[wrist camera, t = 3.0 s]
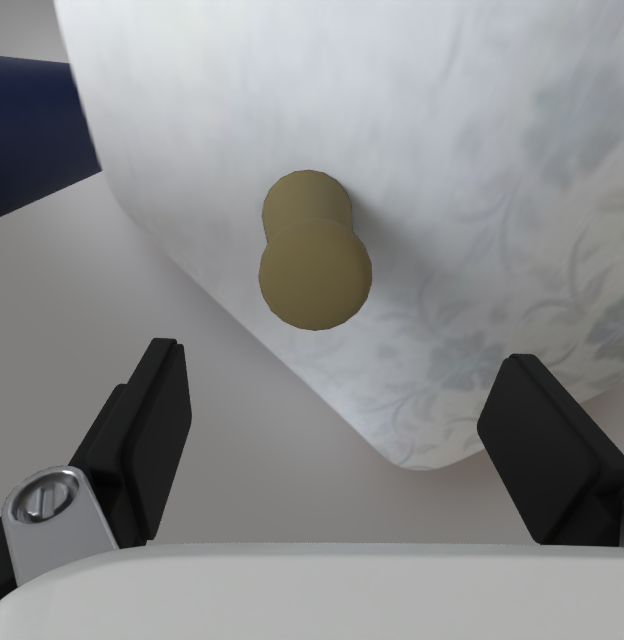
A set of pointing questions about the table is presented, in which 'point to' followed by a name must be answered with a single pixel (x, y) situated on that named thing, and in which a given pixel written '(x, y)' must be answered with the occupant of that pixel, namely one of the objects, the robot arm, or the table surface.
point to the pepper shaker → (312, 253)
